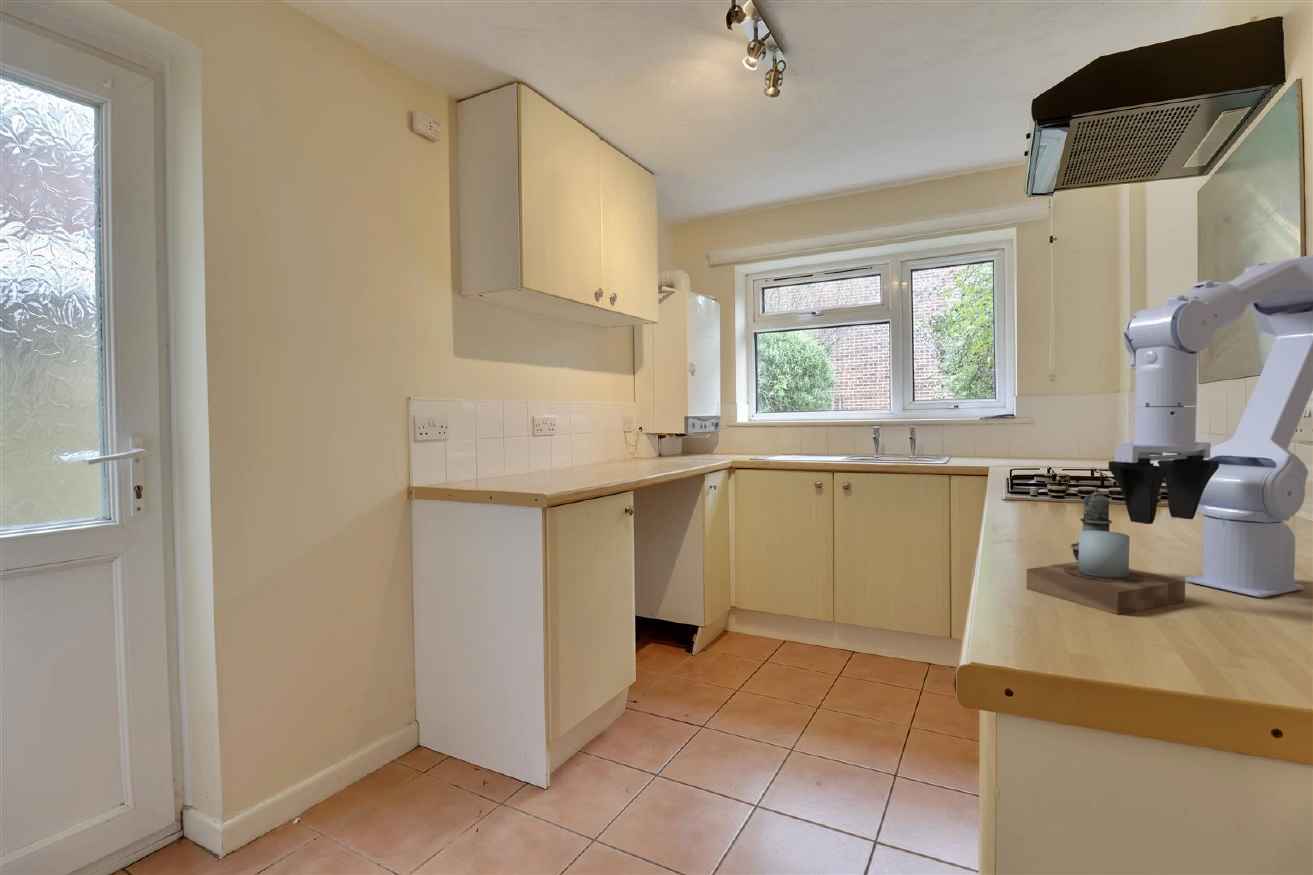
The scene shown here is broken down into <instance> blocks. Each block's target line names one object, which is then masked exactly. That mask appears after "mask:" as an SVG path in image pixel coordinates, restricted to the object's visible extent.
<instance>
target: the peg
mask: <svg viewBox="0 0 1313 875" xmlns="http://www.w3.org/2000/svg"><path fill="white" fill-rule="evenodd" d="M1130 537H1131V536H1130V535H1128V534H1125V533H1122V532H1117V531H1116V532H1115V531H1110V530H1109V531H1097V530H1085V531H1083V530H1080V531H1079V532H1078V542H1079V567H1078V572H1079V573H1080V574H1082V575H1085V576H1088V577H1092V578H1098V579H1105V580H1126V579H1128V578H1129V568H1130Z"/></svg>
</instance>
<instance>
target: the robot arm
mask: <svg viewBox="0 0 1313 875" xmlns="http://www.w3.org/2000/svg"><path fill="white" fill-rule="evenodd" d="M1191 287H1192V290H1191V291H1189V292H1187V293H1185V294H1178V295H1173V296H1171V297H1169V298H1167V299H1166V303H1164V304H1162V305H1161V306H1157V307H1152V308H1151V307H1150V308H1144V309H1140V310H1139V311H1137V312H1136V313H1135V314H1134V315H1133V316H1132V317H1130V319H1129V320H1128V321H1127V323H1126V327H1125V331H1123V332H1122V340H1123V343H1124V346H1125V348H1126V350H1127V351H1128V354H1129V366H1131V369H1132V370H1134V407H1133V408H1134V414H1133V415H1134V418H1133V420H1134V421H1133V442H1130V441H1129V442H1124V444H1118V445H1117V444H1116V445H1114V460H1111V461H1108V470H1109V472H1110V473H1111V474H1112V476H1113V478H1114V479H1115V481H1116V483H1117V484H1118V486H1119V488H1120V491H1121V494H1122V497H1123V499H1124V502H1125V506H1126V509H1127V510H1126V511H1127V514H1128V518H1129V520H1130V522H1131V523H1137V524H1146V525H1152V524H1153V523H1154V521H1155V519H1156V514H1157V510H1158V509H1157V508H1158V499H1159V494H1160V492H1161V487H1162V485H1163V482H1164V481H1165V486H1166V492H1167V503H1168V504H1167V505H1168V510H1169V515H1170V517H1171V518H1177V519H1184V520H1194V518H1195V515H1196V514H1200V515H1203V518H1202V519H1203V520H1202V521H1203V524H1202V526H1203V527H1202V530H1203V531H1202V561H1201V562H1202V563H1201V564H1202V566H1201V574H1199V575H1194V576H1187V577H1185V582H1187V583H1192V584H1197V585H1202V586H1206V587H1210V588H1214V589H1215V588H1216V589H1219V590H1220V589H1221V590H1224V591H1228V592H1234V593H1237V594H1243V595H1247V596H1253V597H1256V598H1267V597H1270V596H1276V595H1280V594H1286V593H1291V592H1295V591H1300V590H1304V589H1305V585H1303V584H1299V583H1295V567H1296V566H1295V565H1296V563H1295V562H1296V537H1295V534H1294V532H1293V530H1292V529H1291V528H1290V526H1288V524H1287V523H1285V522H1288V521H1290V519H1291V518H1292V517H1293V516H1295V515H1296V514H1297V513H1298V512H1299V511H1300V510H1301V508H1302V507H1303V504H1304V501H1305V498H1306V496H1305V495H1306V488H1305V487H1306V482H1307V478H1308V475H1309V470H1308V468H1307V466H1306V464H1305V463H1304V461H1303V460H1302V459H1301V458H1300V457H1299V456H1297V455H1296V454H1294V453H1293V452H1291V451H1290V450H1289V446H1290V444H1291V442H1292V439H1293V437H1294V435H1295V432H1296V430H1297V429H1298V426H1299V423H1300V421H1301V419H1302V417H1303V414H1304V412H1305V409H1306V407H1307V405H1308V402H1309V400H1310V398H1311V395H1312V394H1313V254H1311V255H1306V256H1299V257H1295V258H1289V259H1284V260H1280V261H1274V262H1267V263H1265V262H1264V263H1263V262H1262V263H1257V264H1255V265H1253V266H1249V267H1246V268H1245V269H1244V271H1243V273H1242V274H1241V275H1238V276H1237V277H1235V278H1234V279H1231V281H1229V282H1222V281H1216V282H1215V281H1214V280H1212V279H1210V280H1204V281H1199V282H1196V283H1194V284H1192V285H1191ZM1247 307H1249V309H1250V310H1251V313H1252V315H1253V317H1254V319H1255V321H1256V323H1257V324H1258V326H1259V329H1260V331H1261V332H1263V333H1264V332H1265V333H1267V334H1270V335H1273V336H1275V337H1276V339H1275V341H1274V344H1273V346H1272V348H1271V351H1270V352H1269V356H1268V357H1267V360H1266V362H1265V364H1264V367H1263V369H1262V371H1261V374H1260V376H1259V377H1258V379H1257V383H1256V385H1255V387H1254V389H1253V391H1252V394H1251V396H1250V398H1249V401H1248V403H1247V404H1246V407H1245V408H1244V412H1243V413H1242V417H1241V418H1240V421H1239V423H1238V426H1237V428H1236V430H1235V432H1234V434H1233V436H1232V438H1230V439H1228V440H1226V441H1223V442H1222V443H1219V444H1217V445H1214V446H1212V447H1211V442H1205V441H1204V442H1203V441H1196V438H1197V433H1196V432H1197V410H1198V408H1197V402H1198V401H1197V398H1198V397H1197V396H1198V364H1199V363H1198V362H1199V361H1198V360H1199V359H1198V358H1199V357H1198V355H1199V352H1200V351H1204V350H1206V348H1207V347H1208V346H1209V344H1210V341H1211V339H1212V337H1213V335H1214V334H1217V333H1218V332H1220V331H1222V330H1224V329H1226V328H1227V327H1229V326H1231V325H1233V324H1235V323H1237V322H1238V321H1239V320H1240V319H1241V318H1242V317H1243V316H1244V315H1245V311H1246V308H1247ZM1153 461H1157V465H1154V463H1153Z"/></svg>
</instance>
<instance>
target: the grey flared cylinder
mask: <svg viewBox="0 0 1313 875" xmlns="http://www.w3.org/2000/svg"><path fill="white" fill-rule="evenodd" d="M1099 492H1100V490H1099V488H1098V487H1095V488H1094V489H1093V492H1092V493H1091V494H1088V495H1086V496H1085V497H1084V498H1083V518H1080V520H1079V521H1080V522H1082V531H1085V530H1097V531H1109V532H1110V525H1111V524H1112V523H1113V521H1112V520H1111V519H1110V501H1109V500H1110V499H1109V498H1108V497H1107V496H1105V495H1103V494H1101V493H1099ZM1069 546H1070V549H1072V554H1073V557H1074V559H1075V561H1076V562H1079V541H1078V542H1076V543H1072V544H1070V545H1069Z"/></svg>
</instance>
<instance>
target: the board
mask: <svg viewBox="0 0 1313 875" xmlns="http://www.w3.org/2000/svg"><path fill="white" fill-rule="evenodd" d="M1078 567H1079V562H1078V561H1073V562H1068V563H1067V562H1066V563H1060V564H1053V565H1046V566H1038V567H1032V568H1026V589H1027V590H1031V591H1035V592H1037V591H1038V592H1037V593H1041V594H1045V595H1048V596H1052V597H1055V598H1059V599H1063V600H1065V601H1068V602H1073V603H1077V604H1080V605H1082V606H1086V607H1090V608H1093V609H1098V610H1101V611H1105V612H1108V613H1111V614H1115V615H1121V614H1126V613H1131V612H1137V611H1143V610H1146V609H1147V610H1148V609H1152V608H1157V607H1162V606H1168V605H1172V604H1179V603H1184V602H1185V600H1186V580H1184V579H1180V578H1175V577H1172V576H1167V575H1161V574H1157V573H1152V572H1149V571H1148V572H1147V571H1143V570H1140V569H1139V570H1138V569H1133V568H1130V567H1129V578H1128V579H1126V580H1105V579H1098V578H1092V577H1088V576H1085V575H1082V574H1080V573H1079V572H1078Z"/></svg>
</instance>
